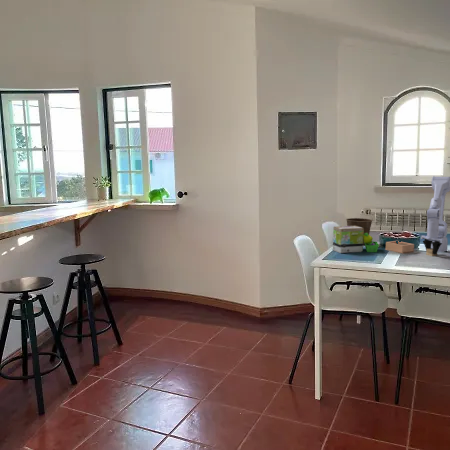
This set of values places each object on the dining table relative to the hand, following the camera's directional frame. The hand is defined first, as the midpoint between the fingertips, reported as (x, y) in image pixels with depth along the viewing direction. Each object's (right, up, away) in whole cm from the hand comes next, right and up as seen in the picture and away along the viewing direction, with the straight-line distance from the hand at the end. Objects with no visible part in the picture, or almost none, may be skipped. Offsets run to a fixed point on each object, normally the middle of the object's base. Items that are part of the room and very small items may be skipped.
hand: (431, 253), depth 261 cm
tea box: (-43, 0, +17) cm, 46 cm away
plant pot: (-31, +3, +37) cm, 48 cm away
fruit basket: (-30, 0, +15) cm, 34 cm away
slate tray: (-12, 0, +12) cm, 17 cm away
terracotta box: (-13, +1, +13) cm, 18 cm away
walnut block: (-12, +1, +10) cm, 16 cm away
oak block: (0, -1, 0) cm, 1 cm away
